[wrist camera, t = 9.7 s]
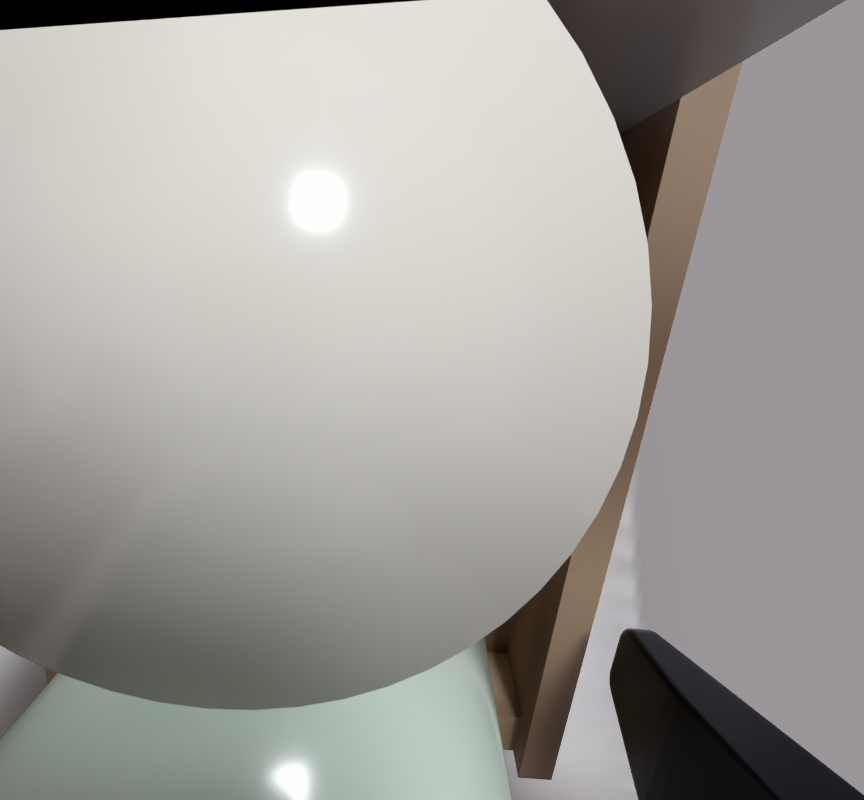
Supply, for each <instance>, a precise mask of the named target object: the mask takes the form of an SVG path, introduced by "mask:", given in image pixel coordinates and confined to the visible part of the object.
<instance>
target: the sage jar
mask: <svg viewBox="0 0 864 800" xmlns="http://www.w3.org/2000/svg"><path fill="white" fill-rule="evenodd" d="M0 800H511V794H510V788H509V782H508V776H507V770H506V764H505V758H504V752H503V745H502V739H501V733H500V727H499V721H498V715H497V709H496V703H495V697H494V691H493V685H492V679H491V673H490V667H489V660H488V654H487V648H486V642H485V637H483V638H482V639H481V640H479V641H478V642H476V643H475V644H474V645H472V646H471V647H469V648H468V649H466V650H464V651H462V652H460V653H459V654H457V655H455V656H453V657H451V658H450V659H448V660H446V661H444V662H442V663H440V664H439V665H437V666H435V667H433V668H431V669H429V670H427V671H425V672H422V673H420V674H417V675H415V676H412V677H410V678H408V679H405V680H403V681H400V682H398V683H395V684H393V685H390V686H388V687H385V688H381V689H378V690H374V691H371V692H367V693H364V694H360V695H357V696H353V697H350V698H346V699H342V700H336V701H330V702H325V703H319V704H313V705H307V706H301V707H291V708H276V709H261V710H236V709H206V708H198V707H191V706H183V705H176V704H168V703H161V702H155V701H151V700H147V699H143V698H138V697H134V696H130V695H125V694H121V693H117V692H112V691H109V690H106V689H103V688H100V687H97V686H94V685H91V684H88V683H85V682H82V681H79V680H76V679H73V678H70V677H67V676H64V675H62V674H60V673H57V674H56V676H55V677H54V678H53V679H52V680H51V681H50V682H49V684H48V685H47V686H46V687H45V688H44V689H43V691H42V692H41V693H40V694H39V695H38V696H37V697H36V699H35V700H34V701H33V702H32V703H31V704H30V706H29V707H28V708H27V709H26V710H25V711H24V712H23V714H22V715H21V716H20V717H19V718H18V719H17V721H16V722H15V723H14V724H13V725H12V726H11V727H10V729H9V730H8V731H7V732H6V733H5V734H4V736H3V737H2V738H1V739H0Z"/></svg>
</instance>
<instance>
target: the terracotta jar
mask: <svg viewBox="0 0 864 800" xmlns="http://www.w3.org/2000/svg"><path fill="white" fill-rule="evenodd" d="M651 312H652V299H651V284H650V268H649V253H648V242H647V237H646V232H645V227H644V222H643V217H642V212H641V207H640V202H639V197H638V192H637V187H636V182H635V179H634V176H633V173H632V170H631V167H630V164H629V161H628V158H627V155H626V152H625V149H624V146H623V143H622V140H621V137H620V134H619V131H618V128H617V125H616V122H615V119H614V117H613V115H612V112H611V110H610V108H609V106H608V104H607V102H606V100H605V98H604V96H603V94H602V92H601V90H600V88H599V86H598V84H597V82H596V80H595V78H594V76H593V74H592V72H591V70H590V68H589V66H588V64H587V62H586V59H585V57H584V55H583V53H582V52H581V50H580V49H579V47H578V46H577V44H576V43H575V41H574V40H573V38H572V37H571V35H570V34H569V32H568V31H567V29H566V28H565V26H564V25H563V23H562V22H561V20H560V19H559V17H558V16H557V14H556V13H555V11H554V10H553V8H552V7H551V5H550V4H549V2H548V1H547V0H0V645H1V646H3V647H4V648H6V649H8V650H10V651H12V652H13V653H15V654H17V655H19V656H21V657H24V658H26V659H28V660H30V661H33V662H35V663H37V664H39V665H42V666H44V667H46V668H48V669H51V670H53V671H55V672H57V673H60V674H62V675H64V676H67V677H70V678H73V679H76V680H79V681H82V682H85V683H88V684H91V685H94V686H97V687H100V688H103V689H106V690H109V691H112V692H117V693H121V694H125V695H130V696H134V697H138V698H143V699H147V700H151V701H155V702H161V703H168V704H176V705H183V706H191V707H198V708H206V709H236V710H261V709H276V708H291V707H301V706H307V705H313V704H319V703H325V702H330V701H336V700H342V699H346V698H350V697H353V696H357V695H360V694H364V693H367V692H371V691H374V690H378V689H381V688H385V687H388V686H390V685H393V684H395V683H398V682H400V681H403V680H405V679H408V678H410V677H412V676H415V675H417V674H420V673H422V672H425V671H427V670H429V669H431V668H433V667H435V666H437V665H439V664H440V663H442V662H444V661H446V660H448V659H450V658H451V657H453V656H455V655H457V654H459V653H460V652H462V651H464V650H466V649H468V648H469V647H471V646H472V645H474V644H475V643H476V642H478V641H479V640H481V639H482V638H483V637H485V636H486V635H488V634H489V633H490V632H492V631H493V630H495V629H496V628H498V627H499V626H500V625H502V624H503V623H505V622H506V621H507V620H508V619H509V618H510V617H511V616H513V615H514V614H515V613H516V612H517V611H518V610H519V609H520V608H521V607H522V606H524V605H525V604H526V603H527V602H528V601H529V600H530V599H531V598H532V597H533V596H535V595H536V594H537V593H538V592H539V591H540V590H541V589H542V588H543V587H544V585H545V584H546V583H547V582H548V581H549V580H550V578H551V577H552V576H553V575H554V574H555V573H556V571H557V570H558V569H559V568H560V567H561V566H562V564H563V563H564V562H565V561H566V560H567V559H568V557H569V556H570V555H571V554H572V552H573V551H574V549H575V548H576V546H577V545H578V543H579V542H580V540H581V539H582V537H583V536H584V534H585V533H586V531H587V530H588V528H589V527H590V525H591V523H592V522H593V520H594V519H595V517H596V516H597V514H598V513H599V511H600V509H601V507H602V505H603V503H604V500H605V498H606V496H607V494H608V492H609V490H610V488H611V486H612V484H613V482H614V480H615V478H616V476H617V474H618V472H619V470H620V468H621V465H622V462H623V459H624V456H625V453H626V450H627V447H628V444H629V441H630V438H631V435H632V432H633V429H634V426H635V423H636V420H637V417H638V412H639V407H640V402H641V397H642V392H643V387H644V382H645V377H646V372H647V367H648V358H649V343H650V328H651Z"/></svg>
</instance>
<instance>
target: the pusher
mask: <svg viewBox="0 0 864 800" xmlns="http://www.w3.org/2000/svg"><path fill="white" fill-rule="evenodd" d="M547 1H548V2H549V4H550V5H551V7H552V8H553V10H554V11H555V13H556V14H557V16H558V17H559V19H560V20H561V22H562V23H563V25H564V26H565V28H566V29H567V31H568V32H569V34H570V35H571V37H572V38H573V40H574V41H575V43H576V44H577V46H578V47H579V49H580V50H581V52H582V53H583V55H584V57H585V59H586V62H587V64H588V66H589V68H590V70H591V72H592V74H593V76H594V78H595V80H596V82H597V84H598V86H599V88H600V90H601V92H602V94H603V96H604V98H605V100H606V102H607V104H608V106H609V108H610V110H611V112H612V115H613V117H614V119H615V122H616V125H617V128H618V131H619V134H621V133H622V132H624V131H626V130H627V129H629V128H631V127H632V126H634V125H636V124H638V123H639V122H641V121H643V120H644V119H646V118H648V117H649V116H651V115H653V114H654V113H656V112H658V111H659V110H661V109H663V108H665V107H666V106H668V105H670V104H671V103H673V102H675V101H676V100H678V99H680V98H681V97H683V96H685V95H686V94H688V93H690V92H692V91H693V90H695V89H697V88H698V87H700V86H702V85H703V84H705V83H707V82H708V81H710V80H712V79H713V78H715V77H717V76H718V75H720V74H722V73H724V72H725V71H727V70H729V69H730V68H732V67H734V66H735V65H737V64H739V63H740V62H742V61H744V60H745V59H747V58H749V57H750V56H752V55H754V54H755V53H757V52H759V51H761V50H762V49H764V48H766V47H767V46H769V45H771V44H772V43H774V42H776V41H778V40H779V39H781V38H783V37H784V36H786V35H788V34H789V33H791V32H793V31H794V30H796V29H798V28H799V27H801V26H803V25H804V24H806V23H808V22H810V21H811V20H813V19H814V18H816V17H818V16H820V15H821V14H823V13H825V12H826V11H828V10H830V9H832V8H833V7H835V6H837V5H838V4H840V3H842V2H843V1H844V0H547Z"/></svg>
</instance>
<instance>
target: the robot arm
mask: <svg viewBox="0 0 864 800" xmlns="http://www.w3.org/2000/svg"><path fill="white" fill-rule="evenodd" d="M610 689H611V693H612V697H613V701H614V705H615V709H616V713H617V717H618V721H619V725H620V729H621V733H622V737H623V741H624V745H625V749H626V753H627V757H628V761H629V765H630V769H631V773H632V777H633V781H634V785H635V789H636V792H637V796H638V800H864V795H863V794H862V793H860V792H859V791H858V790H856V789H855V788H854V787H853V786H851V785H850V784H849V783H848V782H846V781H845V780H844V779H842V778H841V777H840V776H838V775H837V774H836V773H835V772H834V771H832V770H831V769H830V768H828V767H827V766H826V765H825V764H823V763H822V762H821V761H819V760H818V759H817V758H816V757H814V756H813V755H812V754H810V753H809V752H808V751H807V750H805V749H804V748H802V747H801V746H800V745H799V744H798V743H796V742H795V741H794V740H793V739H791V738H790V737H789V736H787V735H786V734H785V733H783V732H782V731H781V730H780V729H778V728H777V727H776V726H775V725H773V724H772V723H771V722H769V721H768V720H767V719H766V718H764V717H763V716H762V715H760V714H759V713H758V712H756V711H755V710H754V709H753V708H752V707H750V706H749V705H747V704H746V703H745V702H744V701H742V700H741V699H740V698H738V697H737V696H736V695H735V694H734V693H732V692H731V691H730V690H728V689H727V688H726V687H725V686H723V685H722V684H721V683H720V682H718V681H717V680H716V679H714V678H713V677H712V676H710V675H709V674H708V673H707V672H705V671H704V670H703V669H701V668H700V667H699V666H698V665H696V664H695V663H694V662H693V661H691V660H690V659H689V658H688V657H686V656H685V655H684V654H682V653H681V652H680V651H679V650H677V649H676V648H675V647H673V646H672V645H671V644H670V643H668V642H667V641H666V640H664V639H663V638H662V637H661V636H659V635H658V634H657V633H655V632H653V631H650V630H641V629H630V628H629V629H626V630H624V631H623V632H622V634H621V636H620V639H619V643H618V646H617V650H616V653H615V657H614V660H613V664H612V667H611V671H610Z"/></svg>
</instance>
